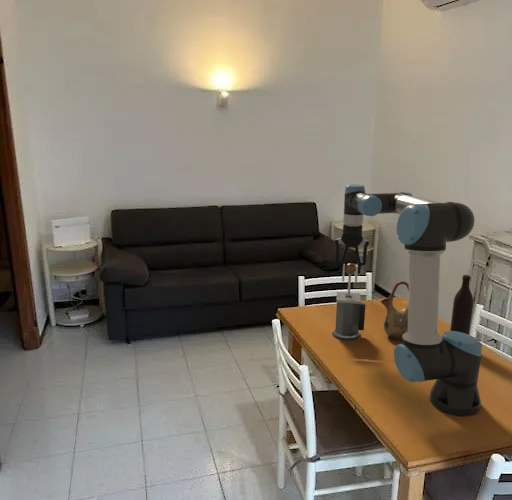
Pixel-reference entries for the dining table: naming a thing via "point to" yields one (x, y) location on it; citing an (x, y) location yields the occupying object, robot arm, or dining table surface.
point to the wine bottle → (462, 308)
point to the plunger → (350, 270)
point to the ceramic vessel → (395, 316)
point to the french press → (349, 316)
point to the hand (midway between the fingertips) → (349, 280)
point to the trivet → (346, 340)
